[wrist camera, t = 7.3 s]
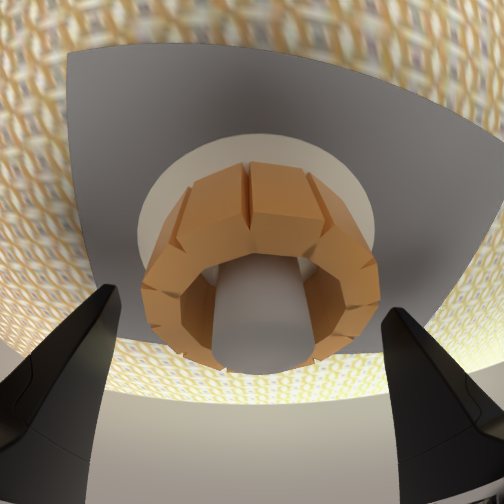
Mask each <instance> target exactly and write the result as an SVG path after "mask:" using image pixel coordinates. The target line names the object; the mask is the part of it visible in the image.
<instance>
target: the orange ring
mask: <svg viewBox="0 0 504 504" xmlns="http://www.w3.org/2000/svg"><path fill="white" fill-rule="evenodd" d="M251 253H259V254H270V255H280V256H291V257H302V258H307V259H309V260H310V261H312V262H313V263H315V264H316V265H318V268H317V271H316V273H314V274H313V275H312V276H311V277H310V278H308V279H307V280H306V281H305V282H304V283H303V286H304V290H305V295H306V300H307V305H308V310H309V315H310V320H311V325H312V330H313V335H314V340H315V349H314V351H313V353H312V355H311V356H310V357H309V358H308V359H307V360H306V361H305V362H303V363H302V364H300V365H299V366H297V367H295V368H292V369H296V368H300V367H304V366H308V365H312V364H315V362H314V359H317V360H319V361H322V360H324V359H325V358H327V357H329V356H330V355H332V354H334V353H335V352H337V351H339V350H340V349H342V348H343V347H345V346H347V345H348V344H350V343H351V342H353V341H354V337H353V336H360V334H361V333H362V331H363V330H364V328H365V327H366V325H367V324H368V322H369V321H370V319H371V317H372V316H373V314H374V313H375V311H376V310H377V308H378V306H379V305H378V302H377V301H379V300H381V299H380V287H379V276H378V267H377V262H376V260H375V258H374V256H373V254H372V252H371V250H370V248H369V247H368V245H367V243H366V241H365V239H364V237H363V235H362V233H361V232H360V230H359V228H358V226H357V224H356V222H355V221H354V219H353V217H352V215H351V214H350V212H349V210H348V208H347V207H346V205H345V203H344V202H343V200H342V199H341V198H340V197H339V196H337V195H336V194H335V193H334V192H333V191H332V190H331V189H329V188H328V187H327V186H326V185H325V184H324V183H322V182H321V181H320V180H319V179H318V178H316V177H315V176H314V175H313V174H312V173H310V172H309V173H308V174H307V175H306V176H305V174H304V172H303V170H302V168H296V167H290V166H283V165H276V164H269V163H261V162H253V161H250V167H249V173H248V175H247V173H246V171H245V169H244V166H243V164H242V162H241V163H238V164H236V165H233V166H231V167H228V168H226V169H223V170H221V171H218V172H216V173H213V174H211V175H208V176H206V177H204V178H201V179H199V180H197V181H194V184H193V187H192V188H190V187H189V186H188V187H187V189H186V190H185V192H184V193H183V194H182V196H181V197H180V199H179V200H178V202H177V203H176V205H175V206H174V208H173V209H172V210H171V212H170V213H169V215H168V216H167V218H166V219H165V221H164V224H163V226H162V229H161V231H160V234H159V236H158V239H157V242H156V244H155V247H154V250H153V252H152V255H151V258H150V260H149V263H148V266H147V269H146V272H145V275H144V277H143V280H142V282H143V283H142V286H141V293H142V299H143V304H144V309H145V314H146V319H147V324H152V325H151V330H152V331H153V332H154V333H155V334H157V335H158V336H159V337H160V338H161V339H162V340H163V341H164V342H165V343H166V344H167V345H168V346H169V347H170V348H171V349H173V350H174V351H175V352H176V353H177V354H180V353H183V357H184V358H186V359H189V360H192V361H194V362H197V363H200V364H202V365H205V366H208V367H211V368H214V369H216V370H219V371H221V370H222V369H224V368H225V367H224V366H222V365H221V364H219V363H218V362H217V361H216V360H215V358H214V357H213V354H212V335H213V322H214V309H215V297H216V287H214V286H212V285H210V284H209V283H208V282H207V281H206V279H205V278H204V276H203V275H202V273H201V272H202V271H203V270H204V269H206V268H209V267H212V266H215V265H218V264H221V263H224V262H227V261H230V260H233V259H236V258H239V257H242V256H245V255H248V254H251ZM292 369H290V370H292ZM227 372H234V373H239V372H235V371H232V370H230V369H228V368H227Z"/></svg>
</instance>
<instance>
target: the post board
mask: <svg viewBox="0 0 504 504" xmlns="http://www.w3.org/2000/svg"><path fill="white" fill-rule="evenodd" d="M66 99H67V125H68V139H69V151H70V160H71V168H72V176H73V183H74V190H75V196H76V202H77V207H78V213H79V218H80V223H81V228H82V232H83V237H84V241H85V245H86V250H87V254H88V258H89V261H90V265H91V269H92V273H93V276H94V280H95V283H96V286H97V289H98V288H100V287H101V286H102V285H103V284H114V285H116V286H117V287H118V291H119V295H120V299H121V303H122V308H121V314H120V319H119V325H118V330H117V336H116V337H119V338H125V339H131V340H137V341H143V342H150V343H157V344H164V345H167V344H166V343H165V342H164V341H163V340H162V339H161V338H160V337H159V336H158V335H157V334H155V333H154V332H153V331H152V330H151V325H152V324H147V319H146V314H145V309H144V304H143V299H142V293H141V286H142V283H143V282H142V280H143V277H144V275H145V272H146V269H147V266H148V263H149V260H150V258H151V255H152V252H153V250H154V247H155V244H156V242H157V239H158V236H159V234H160V231H161V229H162V226H163V224H164V221H165V219H166V218H167V216H168V215H169V213H170V212H171V210H172V209H173V208H174V206H175V205H176V203H177V202H178V200H179V199H180V197H181V196H182V194H183V193H184V192H185V190H186V189H187V187H188V186H189V187H190V188H192V187H193V184H194V181H197V180H199V179H201V178H204V177H206V176H208V175H211V174H213V173H216V172H218V171H221V170H223V169H226V168H228V167H231V166H233V165H236V164H238V163H241V162H242V164H243V166H244V169H245V171H246V173H247V175H248V173H249V167H250V161H253V162H261V163H269V164H276V165H283V166H290V167H296V168H302V170H303V172H304V174H305V176H306V175H307V174H308V173H309V172H310V173H312V174H313V175H314V176H315V177H316V178H318V179H319V180H320V181H321V182H322V183H324V184H325V185H326V186H327V187H328V188H329V189H331V190H332V191H333V192H334V193H335V194H336V195H337V196H339V197H340V198H341V199H342V200H343V202H344V203H345V205H346V207H347V208H348V210H349V212H350V214H351V215H352V217H353V219H354V221H355V222H356V224H357V226H358V228H359V230H360V232H361V233H362V235H363V237H364V239H365V241H366V243H367V245H368V247H369V248H370V250H371V252H372V254H373V256H374V258H375V260H376V262H377V267H378V276H379V287H380V299H381V300H379V301H377V302H378V305H379V306H378V308H377V310H376V311H375V313H374V314H373V316H372V317H371V319H370V321H369V322H368V324H367V325H366V327H365V328H364V330H363V331H362V333H361V334H360V336H353V337H354V341H353V342H351V343H350V344H348V345H347V346H345V347H343V348H342V349H340V350H339V351H337V352H335V353H334V354H358V353H378V352H383V344H382V335H381V323H382V320H383V319H384V318H385V316H386V315H387V313H388V312H389V310H390V309H391V308H392V307H402V308H404V309H405V310H406V311H407V312H408V313H409V314H410V315H411V316H412V317H413V318H414V319H415V320H416V321H417V322H418V323H419V324H420V325H421V326H422V327H424V326H425V325H426V324H427V322H428V321H429V320H430V319H431V317H432V316H433V315H434V313H435V312H436V311H437V310H438V308H439V307H440V306H441V304H442V303H443V301H444V300H445V299H446V297H447V296H448V295H449V293H450V292H451V290H452V289H453V287H454V286H455V284H456V283H457V281H458V280H459V279H460V277H461V275H462V274H463V272H464V271H465V269H466V268H467V266H468V265H469V263H470V261H471V260H472V258H473V256H474V255H475V253H476V251H477V250H478V248H479V246H480V245H481V243H482V241H483V239H484V238H485V236H486V234H487V232H488V230H489V228H490V227H491V225H492V223H493V221H494V219H495V217H496V215H497V213H498V211H499V209H500V207H501V205H502V203H503V200H504V143H503V142H502V141H500V140H499V139H497V138H496V137H494V136H493V135H491V134H490V133H488V132H487V131H485V130H483V129H482V128H480V127H479V126H477V125H475V124H473V123H472V122H470V121H468V120H467V119H465V118H463V117H461V116H459V115H458V114H456V113H454V112H452V111H450V110H448V109H446V108H444V107H442V106H440V105H438V104H436V103H434V102H432V101H430V100H428V99H426V98H424V97H421V96H419V95H417V94H415V93H412V92H410V91H408V90H405V89H403V88H400V87H398V86H395V85H393V84H390V83H388V82H385V81H382V80H379V79H377V78H374V77H371V76H368V75H365V74H362V73H359V72H356V71H353V70H349V69H346V68H343V67H339V66H336V65H332V64H328V63H324V62H321V61H316V60H312V59H308V58H304V57H299V56H294V55H289V54H284V53H278V52H273V51H266V50H260V49H253V48H245V47H236V46H226V45H213V44H193V43H154V44H134V45H122V46H112V47H103V48H96V49H89V50H83V51H77V52H72V53H67V78H66ZM317 268H318V265H316V264H315V263H313V262H312V261H310V260H309V259H307V258H302V257H291V256H280V255H270V254H259V253H251V254H248V255H245V256H242V257H239V258H236V259H233V260H230V261H227V262H224V263H221V264H218V265H215V266H212V267H209V268H206V269H204V270H203V271H202V272H201V273H202V275H203V276H204V278H205V279H206V281H207V282H208V283H209V284H210V285H212V286H214V287H216V297H215V309H214V322H213V335H212V354H213V357H214V358H215V360H216V361H217V362H218V363H219V364H221V365H222V366H224V367H226V368H228V369H230V370H232V371H235V372H239V373H244V374H252V375H267V374H275V373H280V372H284V371H287V370H290V369H292V368H295V367H297V366H299V365H300V364H302V363H303V362H305V361H306V360H307V359H308V358H309V357H310V356H311V355H312V353H313V351H314V349H315V340H314V335H313V330H312V325H311V320H310V315H309V310H308V305H307V300H306V295H305V290H304V286H303V283H304V282H305V281H306V280H307V279H308V278H310V277H311V276H312V275H313V274H314V273H316V271H317Z"/></svg>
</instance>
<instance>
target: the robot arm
mask: <svg viewBox="0 0 504 504" xmlns="http://www.w3.org/2000/svg"><path fill="white" fill-rule="evenodd" d="M121 308H122V303H121V299H120V295H119V291H118V287H117V286H116V285H114V284H103V285H102V286H101V287H100V288H98V289H97V290H96V291H95V292H94V293H93V294H92V295H91V296H89V297H88V298H87V299H86V300H85V301H84V302H83V303H82V304H81V305H80V306H78V307H77V308H76V309H75V310H74V311H73V312H72V313H71V314H70V315H69V316H68V317H67V318H66V319H65V320H64V321H62V322H61V323H60V324H59V325H58V326H57V327H56V328H55V329H54V330H53V331H52V332H51V333H50V334H49V335H48V336H47V337H46V338H45V339H44V340H43V341H42V342H41V343H40V344H39V345H38V346H37V347H36V348H35V349H34V350H33V351H32V352H31V355H30V354H29V355H28V356H27V357H26V358H25V359H24V360H23V361H22V362H21V363H20V364H19V365H18V366H17V367H16V368H15V369H14V370H13V371H12V372H11V373H10V374H9V375H8V376H7V377H6V378H5V379H4V380H3V381H2V382H0V504H85V499H86V489H87V480H88V472H89V465H90V463H89V462H90V458H91V452H92V445H93V440H94V434H95V429H96V424H97V419H98V414H99V410H100V405H101V401H102V396H103V392H104V388H105V384H106V380H107V376H108V372H109V368H110V364H111V361H112V357H113V353H114V348H115V342H116V336H117V330H118V325H119V319H120V314H121ZM381 335H382V344H383V354H384V364H385V370H386V376H387V382H388V387H389V394H390V400H391V406H392V413H393V420H394V429H395V437H396V447H397V458H398V463H399V464H398V472H399V490H400V504H428V503H432V502H435V501H436V503H434V504H504V411H503V410H502V409H501V408H500V407H499V406H498V405H497V404H496V403H495V402H494V401H493V400H492V399H491V398H490V397H489V396H488V395H487V394H486V393H485V392H484V391H483V390H482V389H481V388H480V387H479V386H478V385H477V384H476V383H475V382H474V381H473V380H472V379H471V378H470V376H469V375H468V374H467V373H466V372H465V371H464V370H463V369H462V368H461V367H460V365H459V364H458V363H457V362H456V361H455V360H454V359H453V358H452V357H451V356H450V355H449V354H448V353H447V352H446V351H445V349H444V348H443V347H442V346H441V345H440V344H439V343H438V342H437V341H436V340H435V339H434V338H433V337H432V336H431V335H430V334H429V333H428V332H427V331H426V330H425V329H424V328H423V327H422V326H421V325H420V324H419V323H418V322H417V321H416V320H415V319H414V318H413V317H412V316H411V315H410V314H409V313H408V312H407V311H406V310H405V309H404V308H402V307H392V308H391V309H390V310H389V312H388V313H387V315H386V316H385V318H384V319H383V320H382V323H381Z"/></svg>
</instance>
